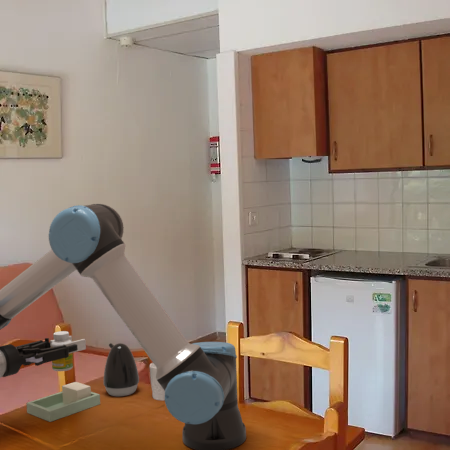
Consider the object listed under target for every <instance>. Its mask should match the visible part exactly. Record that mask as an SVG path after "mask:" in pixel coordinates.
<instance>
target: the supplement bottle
mask: <svg viewBox="0 0 450 450" xmlns="http://www.w3.org/2000/svg"><path fill="white" fill-rule="evenodd" d="M69 336H70V333H69V331H66V330H62V331H56V332H54V333H53V340H54V341H53V342H52V343H51V347H57V346H63V344H65V343H69V342H73V340H72V341H71V340H69V339H68V338H69ZM73 355H74V354H73V353H70V354H69V357H67V358H62V359H58V360H55V361H51V366H52V367H51V368H52V369H51V370H52V371H54V372H66V371H70V370H72V369H73V368H74V359H73Z"/></svg>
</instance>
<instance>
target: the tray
mask: <svg viewBox="0 0 450 450" xmlns="http://www.w3.org/2000/svg"><path fill="white" fill-rule="evenodd" d="M99 405H101V393H100V394H99V393H96V392H94V391H91V396H89V397H87V398H84V399H81V400H78V401H75V402H72V403H69V404H63V395H62V391H60V392H56V393H53V394H50V395H46V396H43V397H40V398H38V399H37V398H36V399H35V400H31V401H28V402H26V413H27V414H29V415H31V416H34V417H36V418H38V419H42V420H43V421H47V422H50V423H51V422H54V421H57V420H59V419H62V418H65V417H68V416H71V415H75V414H76V413H80V412H83V411H85V410H88V409H91V408H93V407H97V406H99Z"/></svg>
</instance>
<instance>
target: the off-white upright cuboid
mask: <svg viewBox="0 0 450 450" xmlns="http://www.w3.org/2000/svg"><path fill="white" fill-rule="evenodd" d="M61 392H62V395H63V404H69V403H72V402H75V401H78V400H81V399H84V398H87V397H89V396H91V392H92V390H91V386H90V385H88V384H84V383H81V382H78V381H73V382H71V383H68V384H63V385H61Z"/></svg>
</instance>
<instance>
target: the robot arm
mask: <svg viewBox="0 0 450 450" xmlns="http://www.w3.org/2000/svg"><path fill="white" fill-rule="evenodd" d="M123 235H124V222H123V219H122V217H121V215H120V214H119V213H118V211H117V210H115V209H114V208H113V207H111V206H109V205H107V204H103V203H93V204H87V205H79V204H78V205H73V206H70V207H68V208H64V209H63V210H62V211H59V212H58V213H57V214H56V215H55V217H54V218H53V219H52V221H51V223H50V226H49V230H48V242H49V246H50V248H51V249H50V250H49V251H48V252H47V253H45V254H43V256H42V257H40V258H39V259H37V261H34V263H33V264H31V265H30V266H29V267H27V268H26V269H24V270H23V271H22V272H21V273H20V274H18V275H17V276H16V277H15V278H13V279H12V280H11V281H10V282H8V283H7V284H6V285H4V286H3V287H2V288H0V330H3V329H5V327H7V326H8V325H9V324H10V322H11V321H12V319H14V318H15V317H16V316H18V314H20V313H21V312H22V311H24V310H25V309H27V308H28V307H29V306H31V305H32V304H34V302H35V301H37V300H39V299H41V298H42V296H44V295H46V294H47V292H49V291H50V290H51V289H54V287H56V286H57V285H58V284H60V283H61V282H62V281H64V280H65V279H66V278H67V277H69V276H70V275H71V274H73V273H74V272H75V271H77V272H78V274H79V275H80V276H81V277H84V278H90V279H91V280H92V281H93V282H94V283H95V285H96V286H97V287H98V288H99V290H100V291H101V293H102V294H103V295H104V297H105V298H106V300H107V301H108V303H109V304H110V305H111V307H112V308H113V309H114V311H115V312H116V313H117V315H118V317H120V319H121V320H122V322H123V323H124V324H125V327H127V328H128V330H129V332H130V333H131V334H132V336H133V338H135V340H136V341H137V343H138V344H139V345H140V347H141V348H142V350H144V351H143V352H145V353H146V355H147V356H148V358H149V359H150V360H151V363H154V365H155V366H156V367H157V373H156V379H157V381H158V382H159V384H160V385H161V386H162V388H163V389H164V391H165V400H164V403H165V406H166V408H167V410H168V412H169V413H170V415H171V416H172V417H174V418H175V419H176V420H178V421H179V422H181V423H184V426H183V428H182V442H183V444H184V445H185V446H186V447H188V448H189V449H193V450H231V449H234V448H237V447H239V446H241V445H242V444H243V443H244V442H245V441H246V439H247V430H246V429H247V427H246V425H245V423H244V422H243V418H242V414H241V412H240V409H239V406H238V381H237V380H238V378H237V377H238V376H237V374H238V373H237V372H238V371H237V358H238V356H237V353H236V347H235V345H234V344H232V343H230V342H224V341H201V342H193V343H190V342H189V341H188V340H187V339H186V337H185V336H184V335H183V333H182V331H180V329H179V327H178V326H177V325H176V323H175V322H174V321H173V320H172V318H171V317H170V316H169V314H168V313H167V312H166V310H165V309H164V307H163V306H162V304H161V303H160V302H159V301H158V299H157V297H156V296H155V294H153V292H152V291H151V290H150V288H149V287H148V285H147V284H146V283H145V282H144V280H143V279H142V277H141V276H140V274H139V273H138V271H136V269H135V268H134V266H133V265H132V264H131V262H130V261H129V260H128V258H127V257H126V255H125V250H126V244H125V242H124V240H123ZM68 339H69V340H71V341H72V342H69V343H65V344H63V346H57V347H51V343H52V342H53V341H54V340H55V339H51V340H50V338H49V337H45V338H44V340H43V339H41V340H37V341H33V342H29V343H25V344H21V345H18V346H15V345H14V344H12V343H9V344H5V345H1V346H0V379H1V378H7V377H9V376H14V375H17V373H19V371H20V369H21V367H22V366H30V365H32V364H34V365H35V366H37V367H38V366H42V365H43V364H46V363H52V361H55V360H58V359H62V358H67V357H69V354H70V353H76V352H81V351H84V350H87V346H86V345H87V343H86V342H87V341H86V339H85V338H82V339H78V340H73V335H69V338H68Z"/></svg>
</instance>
